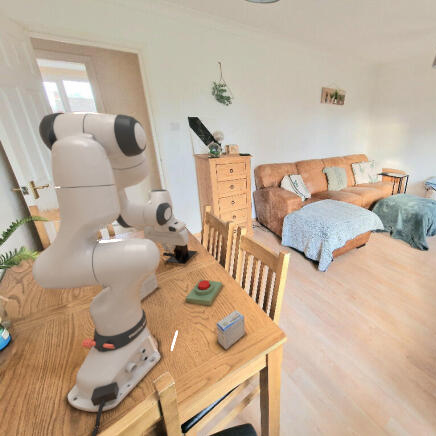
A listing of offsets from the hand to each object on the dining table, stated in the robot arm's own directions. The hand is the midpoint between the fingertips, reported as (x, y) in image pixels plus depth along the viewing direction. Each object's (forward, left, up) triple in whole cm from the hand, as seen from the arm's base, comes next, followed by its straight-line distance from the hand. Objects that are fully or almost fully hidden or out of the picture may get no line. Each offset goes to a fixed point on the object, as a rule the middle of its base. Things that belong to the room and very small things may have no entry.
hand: (169, 251), depth 111 cm
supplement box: (-20, +4, -10) cm, 23 cm away
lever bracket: (+9, 0, -10) cm, 13 cm away
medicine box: (-33, -43, -10) cm, 55 cm away
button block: (-14, -24, -10) cm, 29 cm away
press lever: (+5, 0, -1) cm, 5 cm away
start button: (-14, -24, -6) cm, 28 cm away
